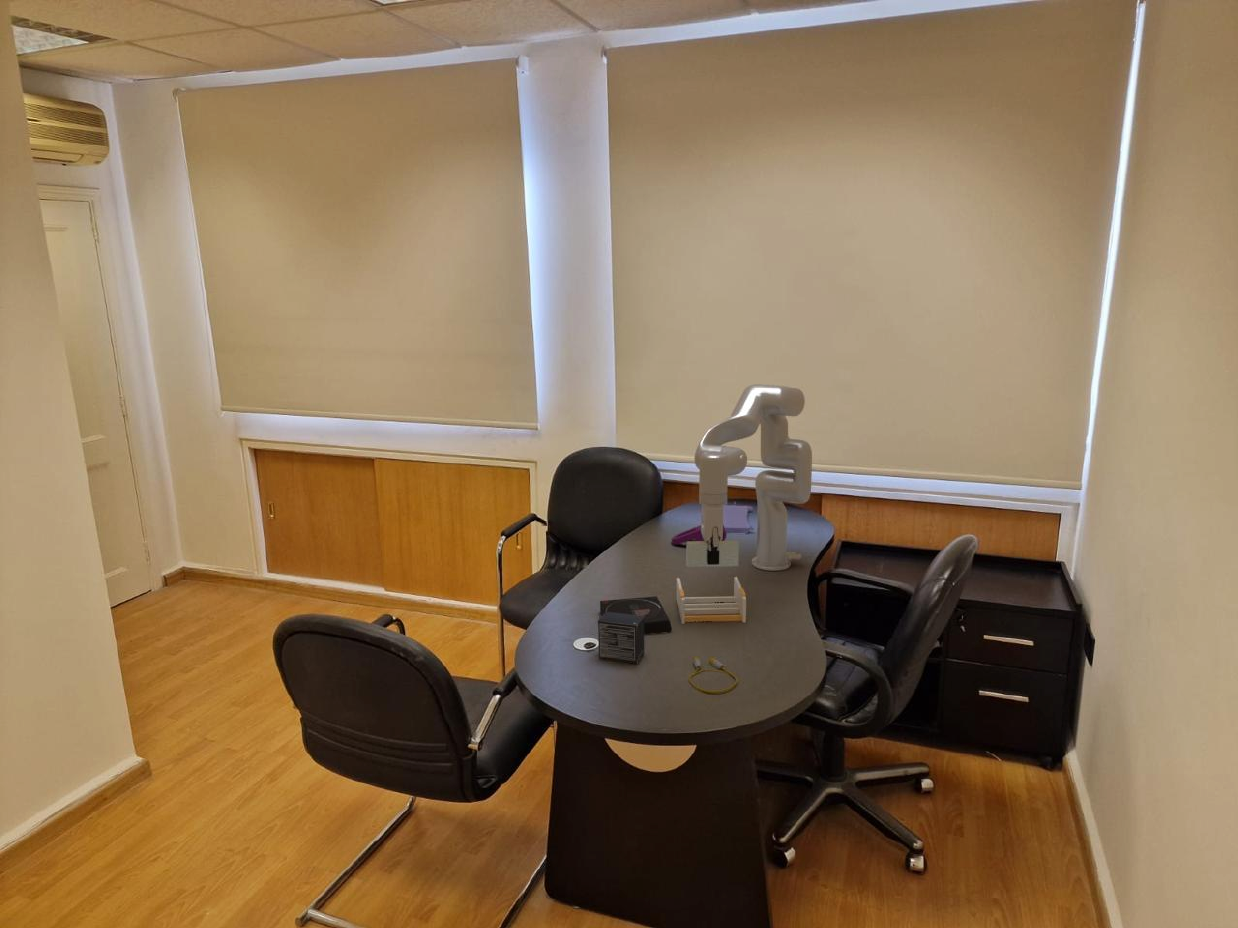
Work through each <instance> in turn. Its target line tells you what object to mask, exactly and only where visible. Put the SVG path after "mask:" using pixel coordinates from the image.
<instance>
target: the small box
mask: <svg viewBox="0 0 1238 928" xmlns="http://www.w3.org/2000/svg"><path fill="white" fill-rule="evenodd" d="M597 627H598V629H597V630H598V637H597V638H598V659H599V660H605V661H614V662H620V663H627V664H636V665H638V664H639V662H640V661H641V659H642V658H643V657H644V655H645V635H644V616H638V615H630V614H622V613H613V612H605V613H604V614H603V615H602V616H600V617H599V619H598V620H597Z"/></svg>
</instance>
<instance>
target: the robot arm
mask: <svg viewBox="0 0 1238 928" xmlns="http://www.w3.org/2000/svg"><path fill="white" fill-rule="evenodd" d="M805 401H806V400H805V395H804V393H803V391H802V390H801V389H800V388H796V387H789V386H784V385H774V384H773V385H772V384H760V383H759V384H751V385H748V386H747V387H745V388H744V390H743V392H742V393H741V395H740V397H739V399H738V401H737V403H736V405H735V407H734V409H733V411H732V413H731V415H730V416H729V417H728V418H725V419H723V420H722V421H720V422H719V423H716V424H715V425H713V426H712V427H710V428H709V429H708V430H706V431H705V433H704V435H702V438H701V440H700V441H699V443H698V446H697V448H696V450H695V453H694V464H695V467H696V468H698V470H699V473H698V474H699V476H698V477H699V482H698V483H699V484H698V486H699V493H698V494H699V495H698V498H699V499H698V503H699V505H701V520H700V521H701V524H700V525H701V533H702V536H703V539H704V541H706V542H707V541H708V550H707V564H708V565H716V564H719V541H721V540H722V537H723V505H726V504H727V505H728V480H729V479H728V477H730V476H731V477H732V476H736V475H740V474H741V473H742V472H744V470H745V469H746V467H747V463H748V455H747V454H746V451H744V450H743V449H741V448H740V447H734V446H727V445H726V446H725V445H724V444H728V443H731V442H736V441H740V440H743V439H746V438H749V437H752V436H753V435H755V434H756V433H757V431H758V429H759V427H760V459H761V460H760V461H761V463H762V464H763V465H764V466H767V467H770V468H778V469H786V470H793V472H791V471H790V472H789V471H782V470H775V469H767V470H762V471H761V472H759V473H758V474H757V475H756V477H755V481H754V483H755V484H754V485H755V493H756V500H757V526H756V527H757V531H756V536H757V537H756V556H754V557H753V558H752V559H751V565H752V566H753V567H754V568H756V569H759V570H763V571H770V572H776V571H777V572H778V571H784V570H788V569H789V568H790V567H791V565H792V563H791V561H801V560H802V554H801V553H796V552H795V551H794V552H793V551H791V552H788V550H787V548H788V547H787V546H788V545H787V543H788V542H787V541H788V540H787V539H788V510H787V508H786V506H785V504H784V503H792V504H799V505H800V504H805V503H807V502H808V501H809V500H810V497H811V493H812V478H813V477H812V471H813V469H812V468H813V450H812V448H811V445H810V443H809V442H807V441H805V440H803V439H795V438H790V437H789V422H788V418H787V417H797V416H799V415H801V413H802V412H803V410H804V408H805V403H806V402H805ZM711 542H713V543H711Z"/></svg>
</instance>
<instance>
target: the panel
mask: <svg viewBox="0 0 1238 928" xmlns="http://www.w3.org/2000/svg"><path fill="white" fill-rule="evenodd" d="M711 543H713V542H711ZM685 545H686V552H685V554H686V555H685V556H686V561H685V562H686V564H685V565H686V567H687V568H707V567H708V568H709V567H711V568H712V567H713V568H715V567H720V568H721V567H739V558H740V557H739V552H740V551H739V550H740V543H739V541H738V540H724V541H719V564H716V565H708V564H707V550H708V541H707V542H706V541H696V540H695V541H691V540H689V541H686V542H685Z"/></svg>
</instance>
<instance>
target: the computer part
mask: <svg viewBox="0 0 1238 928" xmlns="http://www.w3.org/2000/svg"><path fill="white" fill-rule="evenodd" d="M733 502H734V503H733V505H729V504H728V503H727V504H726V505H723V525H724V527H725V530H726V533H748V534H749V531H755V526H752V525H751V526H750V525H749V521H748V518H747V516H748V515H749V514H748V512H749V511H753V510H754V507H753V506H751V505H736V504H737V502H736V501H733Z"/></svg>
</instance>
